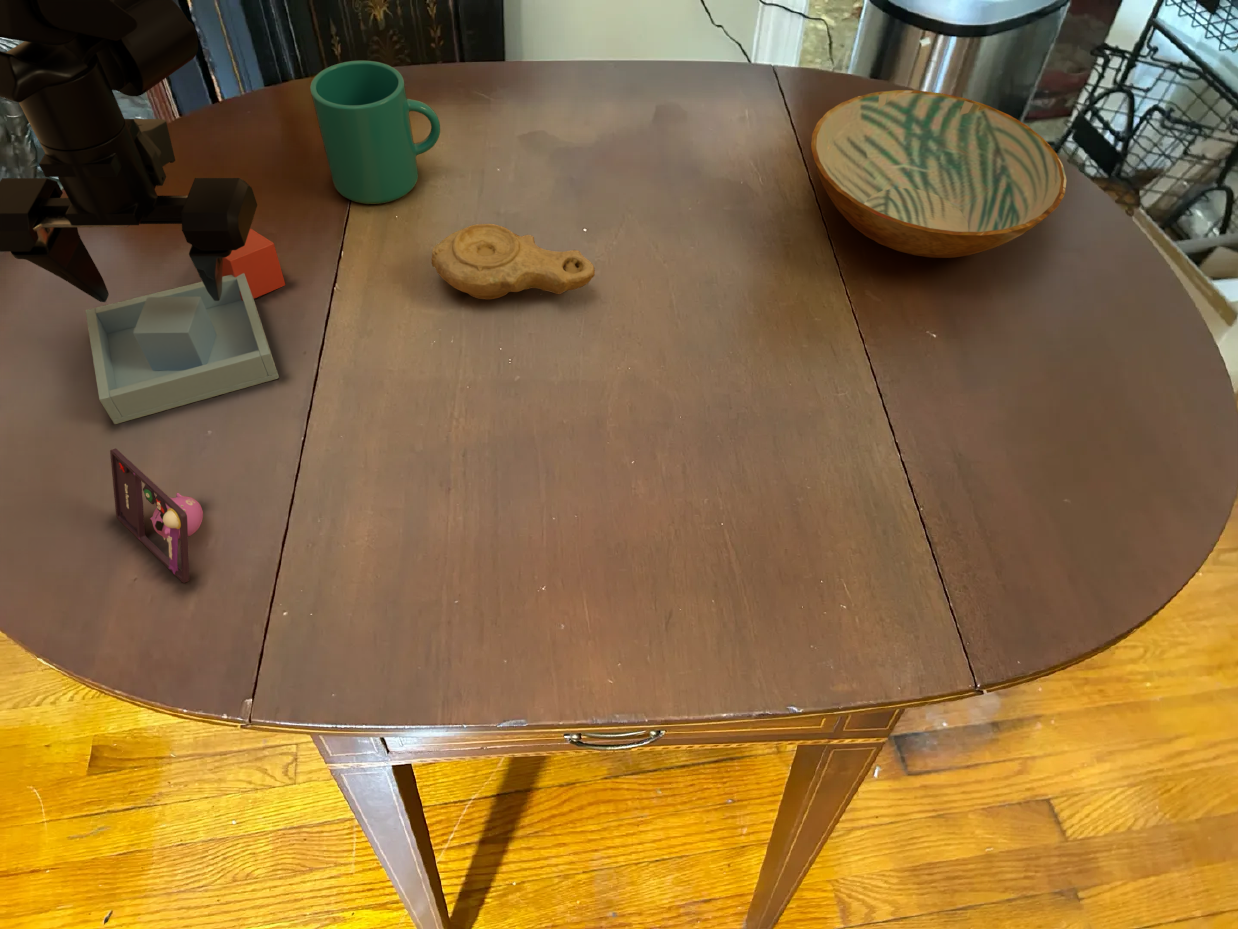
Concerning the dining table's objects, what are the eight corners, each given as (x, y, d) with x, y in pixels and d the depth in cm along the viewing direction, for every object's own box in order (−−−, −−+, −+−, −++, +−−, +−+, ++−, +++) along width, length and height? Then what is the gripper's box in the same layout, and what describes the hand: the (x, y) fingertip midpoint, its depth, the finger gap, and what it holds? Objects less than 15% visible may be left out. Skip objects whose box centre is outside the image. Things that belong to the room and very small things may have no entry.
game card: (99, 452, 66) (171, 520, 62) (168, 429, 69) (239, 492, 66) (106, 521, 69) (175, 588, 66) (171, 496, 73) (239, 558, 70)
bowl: (750, 190, 99) (761, 124, 93) (924, 133, 108) (945, 68, 101) (901, 332, 86) (926, 265, 80) (1086, 254, 94) (1122, 188, 88)
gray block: (152, 370, 79) (132, 333, 75) (165, 334, 82) (147, 296, 78) (205, 370, 79) (188, 332, 76) (216, 334, 82) (200, 296, 78)
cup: (451, 198, 97) (439, 99, 88) (336, 211, 95) (311, 112, 86) (441, 150, 102) (428, 53, 93) (331, 162, 100) (308, 63, 91)
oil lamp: (598, 306, 87) (599, 264, 83) (451, 336, 84) (445, 294, 80) (566, 238, 93) (566, 197, 89) (428, 264, 90) (421, 222, 86)
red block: (243, 303, 85) (229, 260, 82) (218, 285, 87) (204, 243, 84) (285, 285, 87) (274, 243, 84) (261, 268, 90) (248, 226, 87)
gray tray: (114, 424, 76) (99, 399, 73) (99, 335, 82) (85, 309, 80) (279, 378, 80) (270, 353, 77) (253, 296, 86) (243, 271, 84)
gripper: (241, 69, 69) (292, 236, 81) (-14, 67, 68) (76, 237, 80) (208, 153, 62) (269, 322, 74) (-77, 153, 61) (33, 324, 73)
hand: (162, 297), depth 76 cm, fingers open, 9 cm apart
